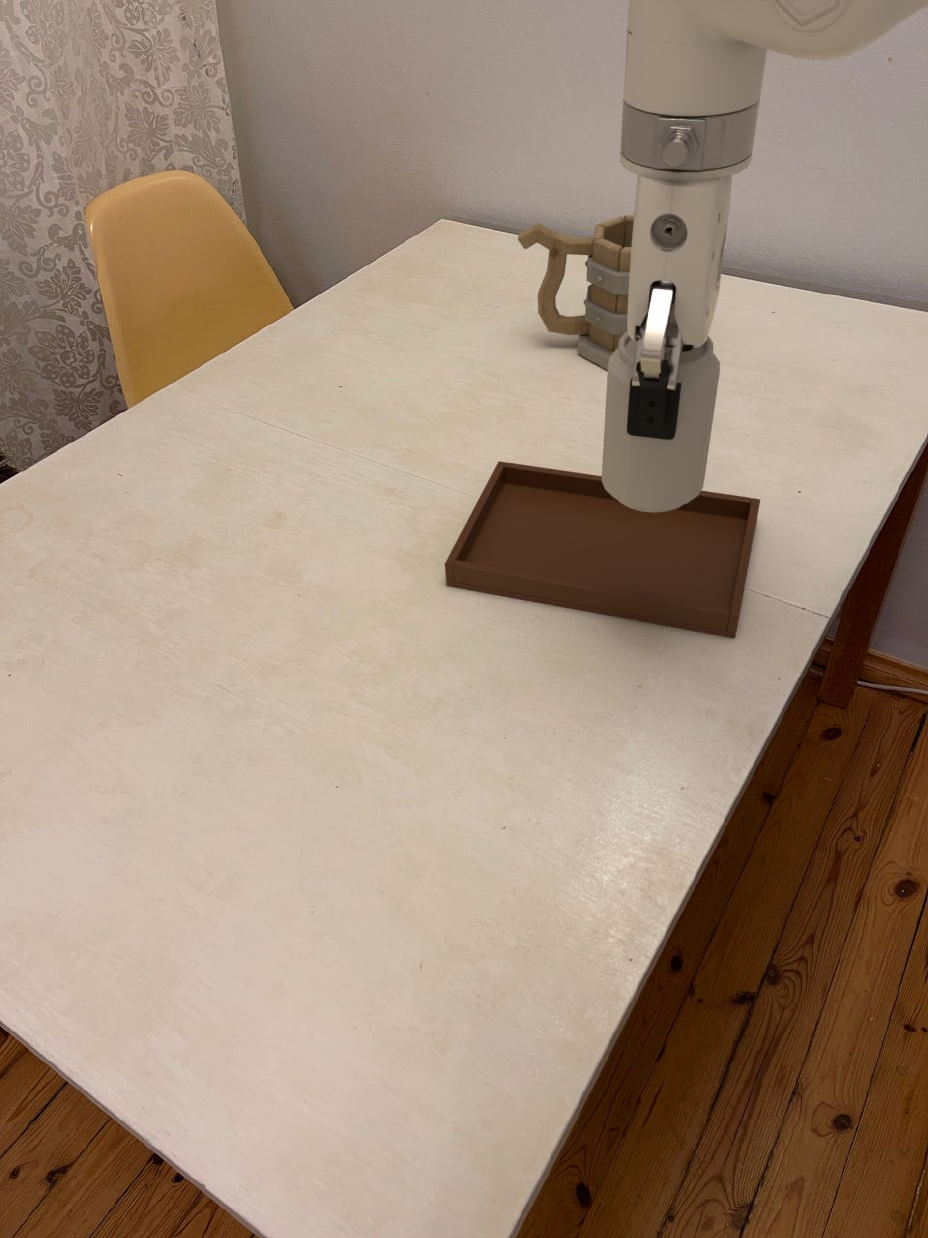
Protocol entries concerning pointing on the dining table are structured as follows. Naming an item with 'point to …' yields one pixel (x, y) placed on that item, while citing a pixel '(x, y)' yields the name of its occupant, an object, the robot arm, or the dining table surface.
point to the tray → (606, 550)
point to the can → (657, 466)
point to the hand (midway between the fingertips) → (660, 402)
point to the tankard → (604, 293)
